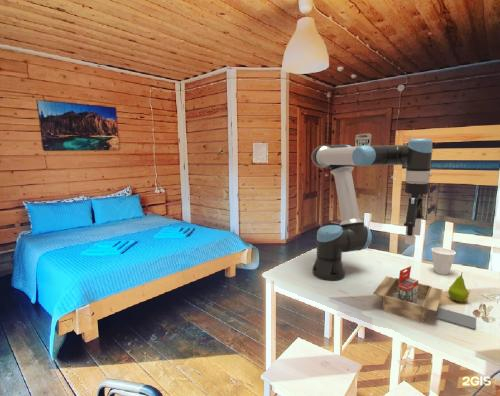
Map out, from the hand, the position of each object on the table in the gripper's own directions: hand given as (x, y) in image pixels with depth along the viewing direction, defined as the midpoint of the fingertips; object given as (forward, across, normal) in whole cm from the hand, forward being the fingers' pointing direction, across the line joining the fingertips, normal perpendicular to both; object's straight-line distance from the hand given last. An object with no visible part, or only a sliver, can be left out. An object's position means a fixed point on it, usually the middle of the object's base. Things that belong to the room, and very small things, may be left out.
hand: (412, 239), depth 108 cm
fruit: (+27, +16, -15) cm, 34 cm away
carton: (+26, 0, 0) cm, 26 cm away
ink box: (+27, 0, 0) cm, 27 cm away
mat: (+26, 0, -15) cm, 31 cm away
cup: (+27, +43, -7) cm, 51 cm away
